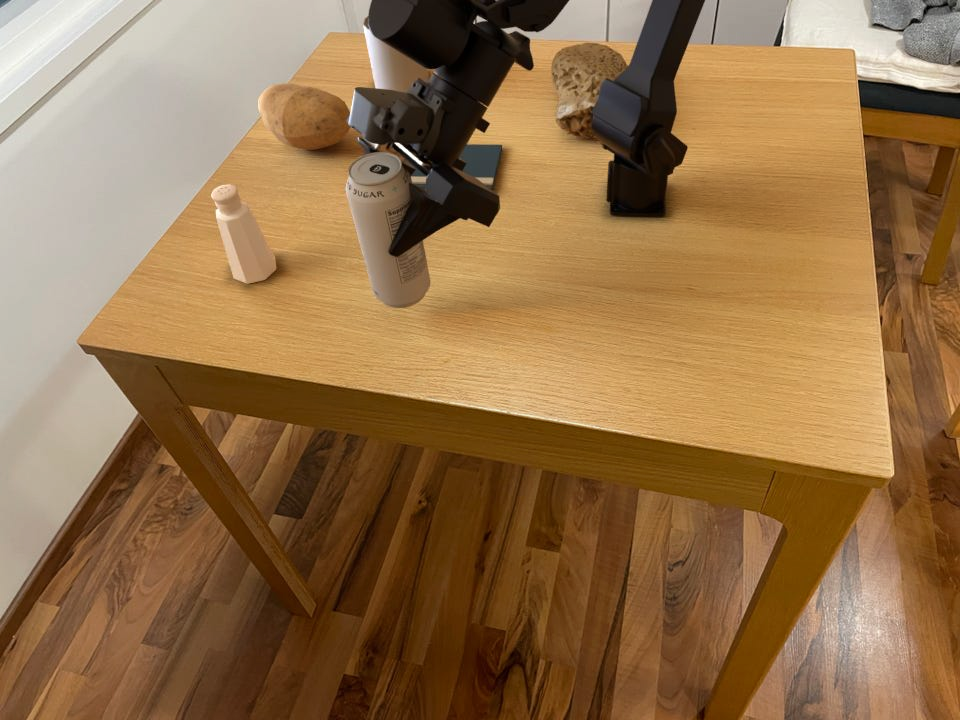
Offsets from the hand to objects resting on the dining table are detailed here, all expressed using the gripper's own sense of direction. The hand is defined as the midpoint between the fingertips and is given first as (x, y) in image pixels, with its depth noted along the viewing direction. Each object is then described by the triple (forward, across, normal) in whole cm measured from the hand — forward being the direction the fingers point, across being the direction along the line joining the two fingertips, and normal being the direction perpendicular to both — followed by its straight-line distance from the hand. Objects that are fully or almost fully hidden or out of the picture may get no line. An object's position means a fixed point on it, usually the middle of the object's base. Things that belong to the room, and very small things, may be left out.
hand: (376, 239), depth 71 cm
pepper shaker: (+14, -19, +2) cm, 24 cm away
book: (-5, -22, +21) cm, 31 cm away
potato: (+2, -39, +14) cm, 42 cm away
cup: (-10, -46, +27) cm, 54 cm away
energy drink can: (+4, 0, +6) cm, 8 cm away
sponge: (-22, -21, +39) cm, 50 cm away
